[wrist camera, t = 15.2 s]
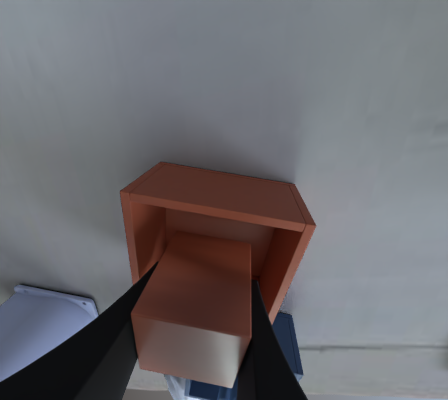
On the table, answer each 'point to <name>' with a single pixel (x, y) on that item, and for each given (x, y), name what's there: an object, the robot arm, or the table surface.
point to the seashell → (177, 387)
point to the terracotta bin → (219, 221)
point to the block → (196, 310)
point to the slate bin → (288, 344)
